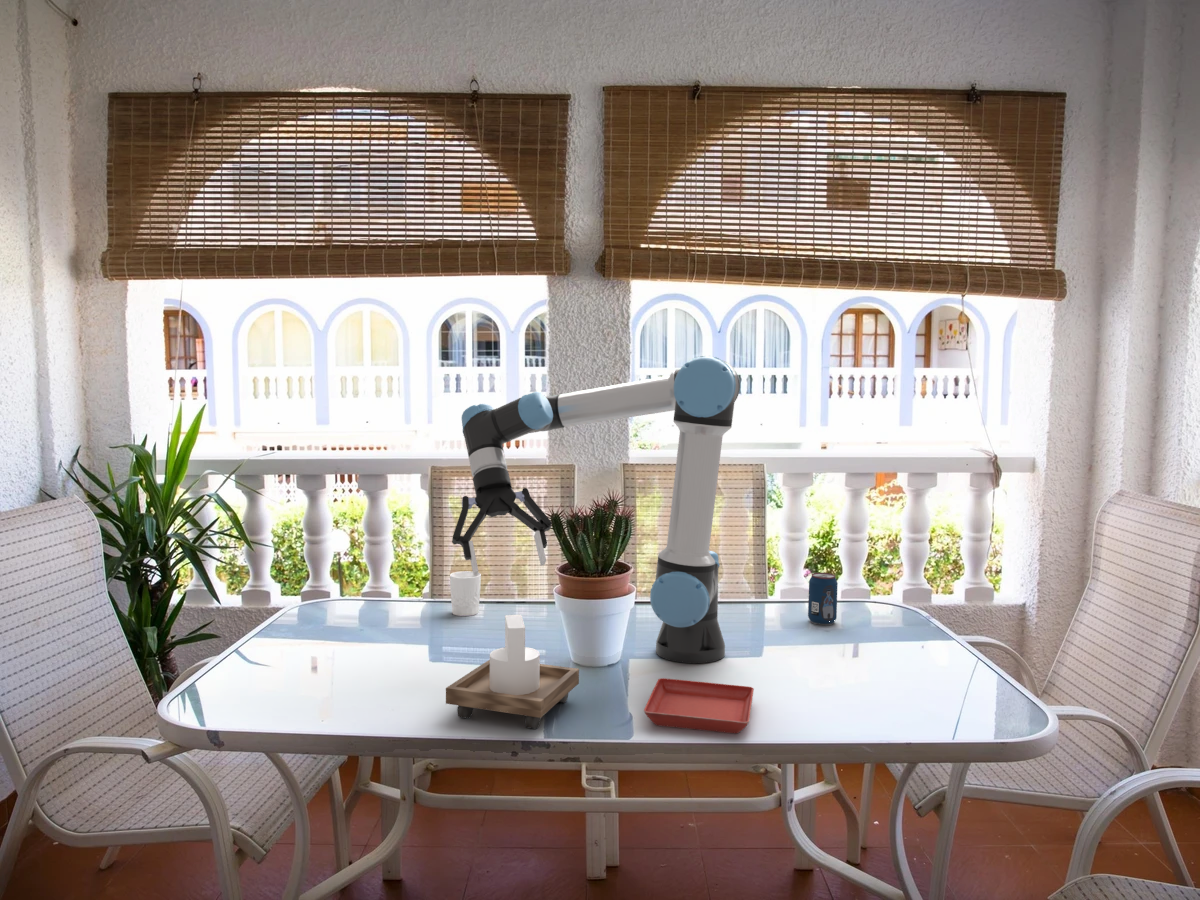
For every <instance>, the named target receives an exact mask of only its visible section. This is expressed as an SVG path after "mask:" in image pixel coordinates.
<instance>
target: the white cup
mask: <svg viewBox="0 0 1200 900" xmlns="http://www.w3.org/2000/svg"><path fill="white" fill-rule="evenodd" d="M481 579H482V574H481V573H480V572H478V576H475V577H474V576H473V571H470V570H469V571H467V570H466V571H465V570H464V571H456V572H452V573H450V574H449V585H450V586H449V587H450V590H449V591H450V601H451V602H450V603H451V612H452V614H453V615H454V616H458V617H468V616H470V617H471V616H476V615H477V614H479V613H480V612H479V611H480V601H481V600H480V598H481Z"/></svg>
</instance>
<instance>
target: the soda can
mask: <svg viewBox="0 0 1200 900" xmlns="http://www.w3.org/2000/svg"><path fill="white" fill-rule="evenodd" d="M838 584H839V583H838V581H837V578H836V575H835V574H833V573H831V572H830V573H829V572H813V573H811V577H810V578H809V580H808V599H807V601H808V604H807V605H808V607H807V617H808V619H809V620H810V622H811V623H812V624H814V625H820V626H831V625H834V623H835V622H836V620H837V617H838V614H837V613H838V609H837V608H838ZM834 620H835V621H834ZM829 621H830V622H829Z"/></svg>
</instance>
